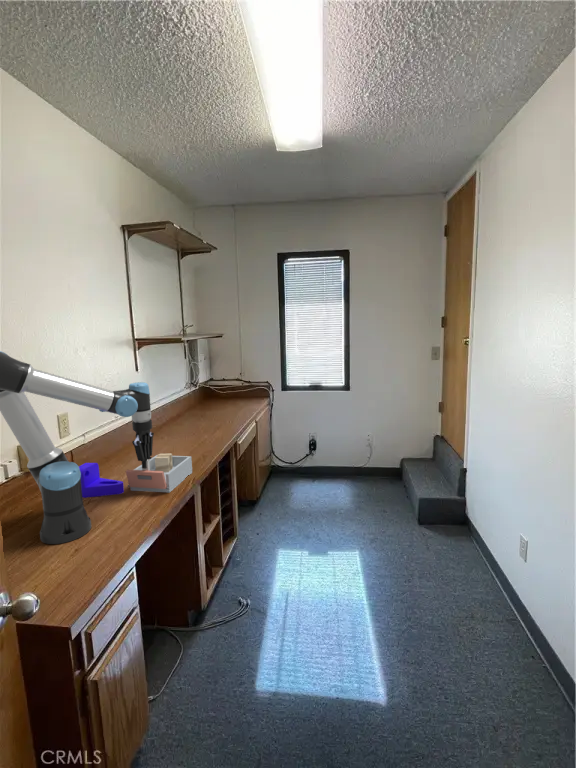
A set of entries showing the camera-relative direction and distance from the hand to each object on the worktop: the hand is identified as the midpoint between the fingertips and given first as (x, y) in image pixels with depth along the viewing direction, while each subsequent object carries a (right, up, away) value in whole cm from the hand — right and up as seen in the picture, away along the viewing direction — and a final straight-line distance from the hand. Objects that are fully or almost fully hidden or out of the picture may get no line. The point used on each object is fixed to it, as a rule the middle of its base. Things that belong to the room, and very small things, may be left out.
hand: (146, 474), depth 161 cm
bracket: (-20, -8, +3) cm, 22 cm away
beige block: (+1, -2, +19) cm, 19 cm away
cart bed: (+3, -6, +13) cm, 15 cm away
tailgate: (0, -2, -2) cm, 3 cm away
